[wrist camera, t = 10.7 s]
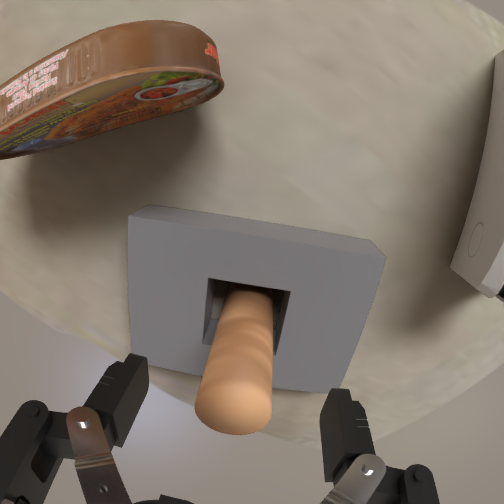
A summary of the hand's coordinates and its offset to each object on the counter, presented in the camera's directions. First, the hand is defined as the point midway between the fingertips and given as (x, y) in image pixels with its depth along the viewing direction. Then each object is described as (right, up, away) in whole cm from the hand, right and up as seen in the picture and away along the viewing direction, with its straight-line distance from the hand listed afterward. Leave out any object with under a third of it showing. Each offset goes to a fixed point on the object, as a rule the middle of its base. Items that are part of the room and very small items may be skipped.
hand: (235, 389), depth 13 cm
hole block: (0, +3, +8) cm, 9 cm away
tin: (-8, +15, +5) cm, 18 cm away
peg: (+1, +3, +8) cm, 9 cm away
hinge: (+17, +12, +4) cm, 21 cm away
